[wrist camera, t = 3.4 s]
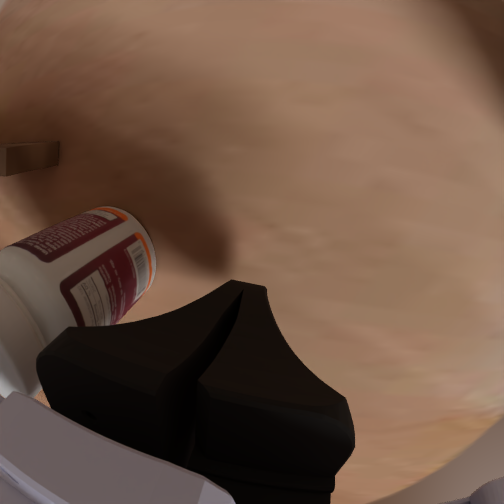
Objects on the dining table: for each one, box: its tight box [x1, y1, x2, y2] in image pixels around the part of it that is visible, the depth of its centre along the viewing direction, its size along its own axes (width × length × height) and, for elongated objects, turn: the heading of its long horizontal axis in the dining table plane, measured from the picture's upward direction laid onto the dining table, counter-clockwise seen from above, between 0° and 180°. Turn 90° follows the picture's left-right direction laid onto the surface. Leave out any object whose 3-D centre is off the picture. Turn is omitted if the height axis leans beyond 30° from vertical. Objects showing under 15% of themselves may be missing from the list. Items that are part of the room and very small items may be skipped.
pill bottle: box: [0, 206, 156, 398], centre depth 9 cm, size 5×5×8 cm
